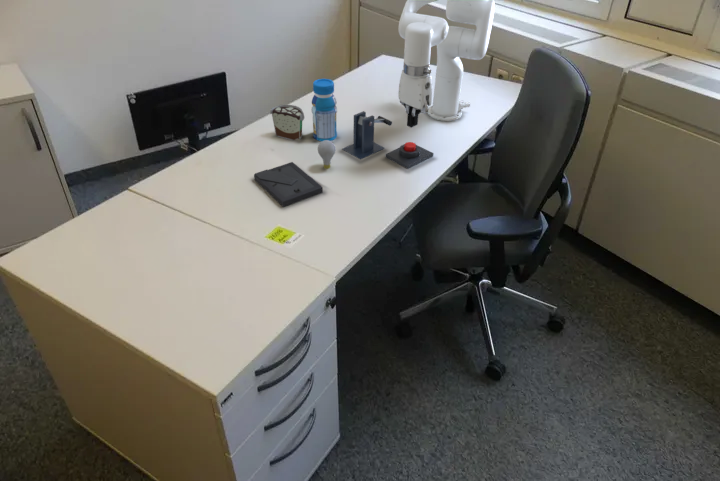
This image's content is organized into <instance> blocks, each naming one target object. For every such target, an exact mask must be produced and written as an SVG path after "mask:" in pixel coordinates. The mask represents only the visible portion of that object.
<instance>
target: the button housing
mask: <svg viewBox="0 0 720 481" xmlns="http://www.w3.org/2000/svg"><path fill="white" fill-rule="evenodd" d="M404 146H405V143H403V144H401V145H400V146H399V147H397V148H395V149H392V150H391V151H389V152H387V153H385V157H384V158H385V159H387V160H390V161H392V162H394V163H395V164H397V165H399V166H401V167H403V168H405V169H407V170H410V169H411V168H413V167H416V166H417V165H419V164H421V163H423V162H425V161H427V160H429V159H431V158H433V157H434V152H432V151H430V150H428V149H426V148H424V147H421V146H420V145H418V144H416V150H415V151H414V152H408V151H405V150H404Z"/></svg>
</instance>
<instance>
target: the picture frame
mask: <svg viewBox="0 0 720 481" xmlns="http://www.w3.org/2000/svg"><path fill="white" fill-rule="evenodd" d="M253 178H254V181H255V182H256V183H257V184H258V185H259V186H261V188H263V189H264V191H266V193H268V195H270V196H271V197H272V198H273V199H274V200H275V201H276V202H277V203H278V204H279V205H280V206H281V207H282V208H285V207H288V206H290V205H293V204H296V203H298V202H302V201H304V200H307V199H309V198H313V197H315V196H317V195H320V194H323V192H324V191H323V186H322V185H320V184H319V183H318V181H316V180H315V179H313V178H312V177H311V176H310V175H309V174H308V173H307V172H305V171H304V170H303V169H302V168H300V167H299V166H298V165H297V164H295V163H294V162H293V161H291V162H288V163H285V164H282V165H279V166H275V167H272V168H270V169H264V170H261V171H258V172H255V173H254V174H253Z"/></svg>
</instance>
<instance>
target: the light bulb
mask: <svg viewBox="0 0 720 481" xmlns="http://www.w3.org/2000/svg"><path fill="white" fill-rule="evenodd" d="M336 150H337V149H336V145H335V143H334V142H332V140H331V141H329V140H324V141H320V142H319V143H318V146H317V153H318V155H319V156H320V158H321V159H322V163H323V168H324V169H325V170H328V169H330V168H331V164H332V162H331V161H332V160H333V157H334V155H335V154H336Z"/></svg>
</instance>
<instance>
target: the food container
mask: <svg viewBox="0 0 720 481" xmlns="http://www.w3.org/2000/svg"><path fill="white" fill-rule="evenodd" d="M269 114H270V115H271V117H272V122H273V128H274V132H275V137H278V138H282V139H286V140H288V141H289V140H290V141H295V140H296V141H297V140H301V139H302V137H303V121H305V113H304V111H303V109H302V108H301V107H299V106H297V105H293V104H280V105H276V106H273V107H272V108H270V112H269Z"/></svg>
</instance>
